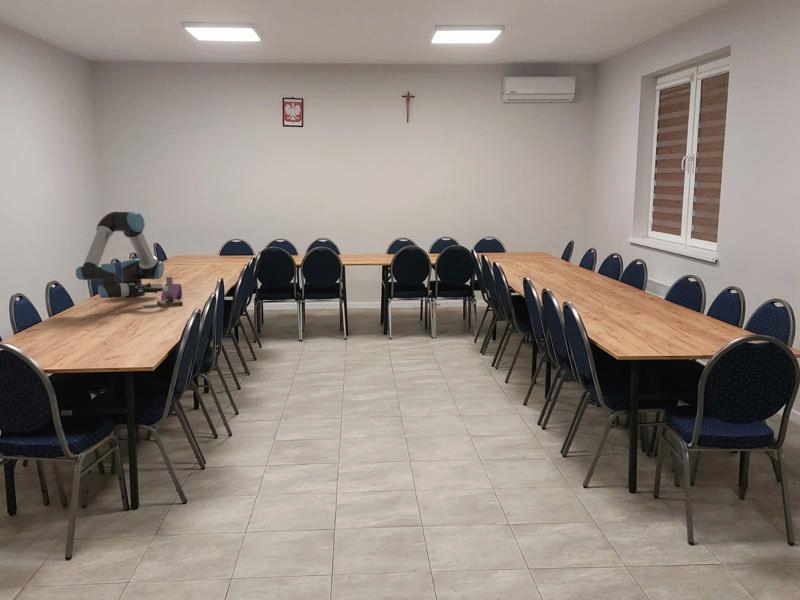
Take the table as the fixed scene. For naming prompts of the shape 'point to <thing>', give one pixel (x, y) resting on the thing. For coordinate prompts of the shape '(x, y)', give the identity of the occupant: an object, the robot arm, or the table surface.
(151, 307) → the mat
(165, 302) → the collar
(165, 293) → the mounting bracket
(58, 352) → the table surface
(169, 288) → the peg
